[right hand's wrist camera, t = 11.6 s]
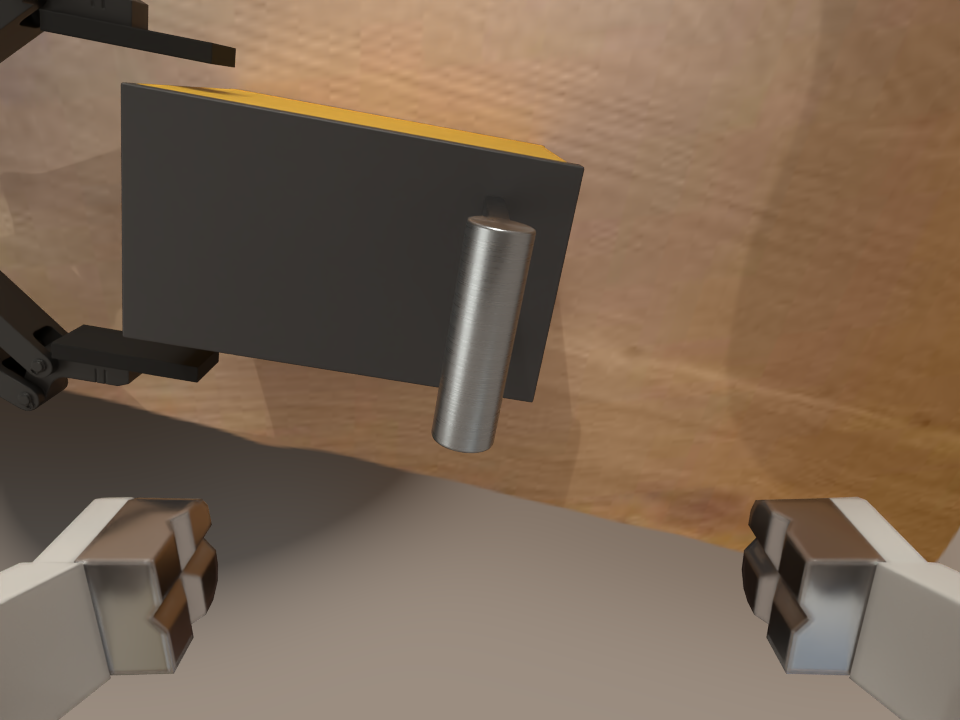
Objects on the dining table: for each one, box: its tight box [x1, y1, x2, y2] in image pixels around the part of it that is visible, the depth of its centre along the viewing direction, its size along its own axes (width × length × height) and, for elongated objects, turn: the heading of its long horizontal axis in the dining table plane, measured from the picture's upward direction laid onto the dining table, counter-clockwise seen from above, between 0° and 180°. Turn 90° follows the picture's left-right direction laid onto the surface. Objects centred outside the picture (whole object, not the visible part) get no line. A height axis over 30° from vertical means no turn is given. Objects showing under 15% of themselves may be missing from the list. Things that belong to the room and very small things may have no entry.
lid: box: [121, 83, 584, 453], centre depth 22 cm, size 16×9×9 cm, turn 80°
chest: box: [137, 83, 566, 162], centre depth 32 cm, size 16×9×11 cm, turn 80°
